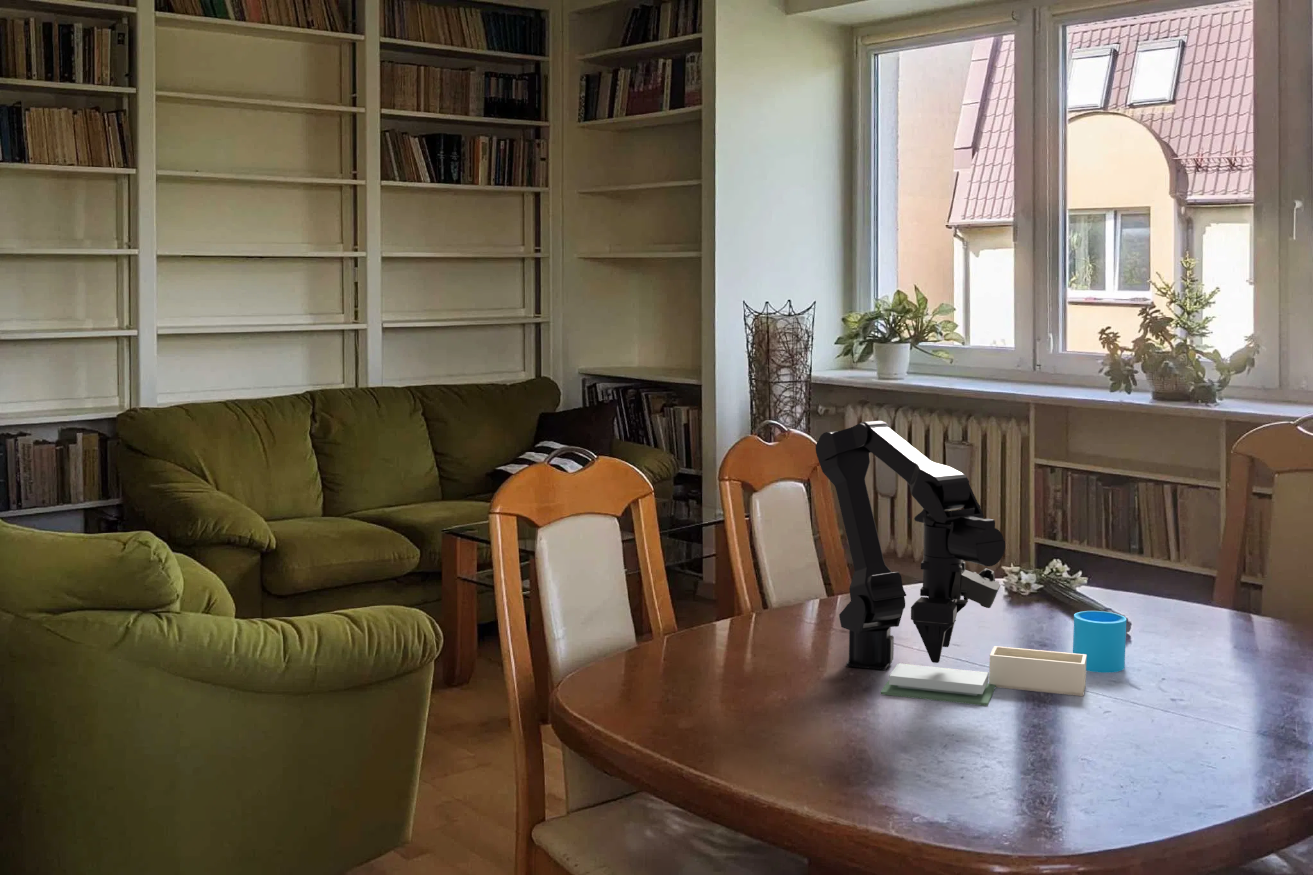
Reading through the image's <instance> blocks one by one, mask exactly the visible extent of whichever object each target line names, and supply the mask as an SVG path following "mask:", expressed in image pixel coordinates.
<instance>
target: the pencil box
mask: <svg viewBox="0 0 1313 875" xmlns="http://www.w3.org/2000/svg"><path fill="white" fill-rule="evenodd" d="M1086 657H1087V655H1086V654H1075V653H1073V652H1064V651H1063V652H1062V651H1053V650H1041V649H1032V648H1031V649H1029V648H1021V647H1020V648H1018V647H1009V646H997V645H994V646H993V647H992V649H991V652H990V654H989V670H988V671H989V678H988V683H989V684H993V685H996V687H995V688H999V689H1000V688H1001V689H1009V690H1018V691H1019V690H1020V691H1029V692H1039V693H1049V694H1058V695H1059V694H1060V695H1065V696H1067V695H1068V696H1077V697H1084V695H1085V690H1086V682H1087V681H1086V679H1087V677H1086V676H1087V671H1086Z"/></svg>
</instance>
